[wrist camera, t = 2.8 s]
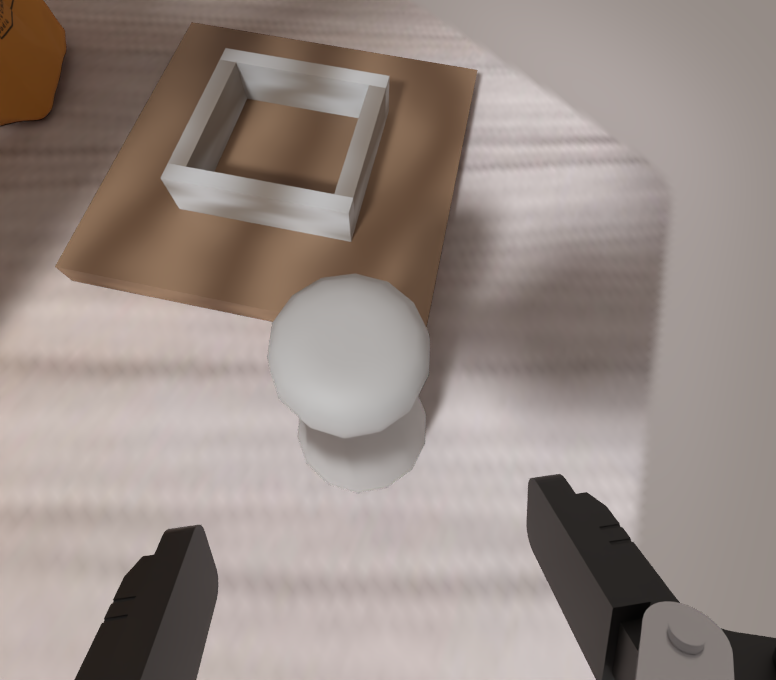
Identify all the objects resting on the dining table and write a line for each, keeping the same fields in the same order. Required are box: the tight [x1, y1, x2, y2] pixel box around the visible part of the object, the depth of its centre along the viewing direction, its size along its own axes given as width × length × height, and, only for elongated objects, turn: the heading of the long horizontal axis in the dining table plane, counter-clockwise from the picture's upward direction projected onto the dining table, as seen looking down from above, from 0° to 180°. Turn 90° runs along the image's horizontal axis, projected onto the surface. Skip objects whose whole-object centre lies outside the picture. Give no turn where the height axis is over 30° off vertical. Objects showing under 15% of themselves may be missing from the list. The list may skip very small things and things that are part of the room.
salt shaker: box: [267, 274, 430, 493], centre depth 17 cm, size 6×6×13 cm
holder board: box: [55, 22, 477, 327], centre depth 28 cm, size 20×20×4 cm
